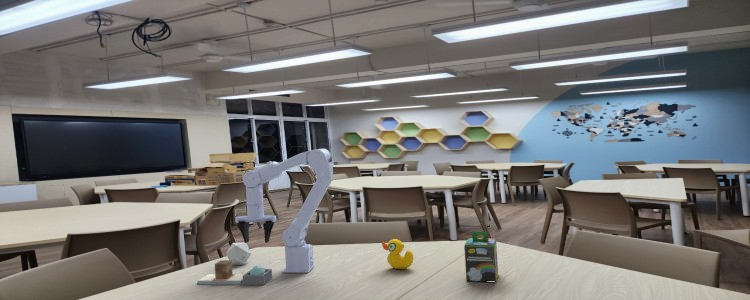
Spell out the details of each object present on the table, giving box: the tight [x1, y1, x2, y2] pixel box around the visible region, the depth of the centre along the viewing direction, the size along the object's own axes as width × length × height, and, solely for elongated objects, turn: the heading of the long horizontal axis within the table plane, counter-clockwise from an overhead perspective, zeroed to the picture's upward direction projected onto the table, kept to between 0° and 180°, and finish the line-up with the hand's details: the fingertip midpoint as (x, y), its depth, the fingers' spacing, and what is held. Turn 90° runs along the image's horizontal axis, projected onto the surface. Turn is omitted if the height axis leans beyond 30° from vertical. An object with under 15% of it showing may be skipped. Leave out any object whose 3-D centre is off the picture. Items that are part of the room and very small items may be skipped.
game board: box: [196, 273, 245, 285], centre depth 145 cm, size 15×7×1 cm, turn 82°
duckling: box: [381, 238, 414, 270], centre depth 150 cm, size 11×5×10 cm, turn 63°
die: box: [225, 241, 252, 266], centre depth 165 cm, size 8×9×10 cm
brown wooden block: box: [214, 259, 234, 279], centre depth 145 cm, size 4×4×5 cm
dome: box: [249, 265, 266, 275], centre depth 143 cm, size 5×5×4 cm
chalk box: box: [463, 230, 499, 282], centre depth 136 cm, size 9×9×15 cm
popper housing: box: [242, 268, 273, 286], centre depth 143 cm, size 7×7×3 cm
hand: (256, 242), depth 155 cm, fingers open, 7 cm apart
